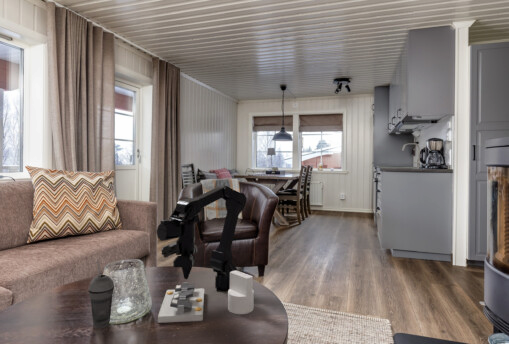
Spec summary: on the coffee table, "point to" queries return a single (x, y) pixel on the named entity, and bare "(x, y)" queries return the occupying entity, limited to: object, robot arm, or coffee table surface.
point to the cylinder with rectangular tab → (240, 293)
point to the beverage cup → (101, 299)
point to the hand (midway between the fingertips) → (186, 278)
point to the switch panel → (182, 307)
